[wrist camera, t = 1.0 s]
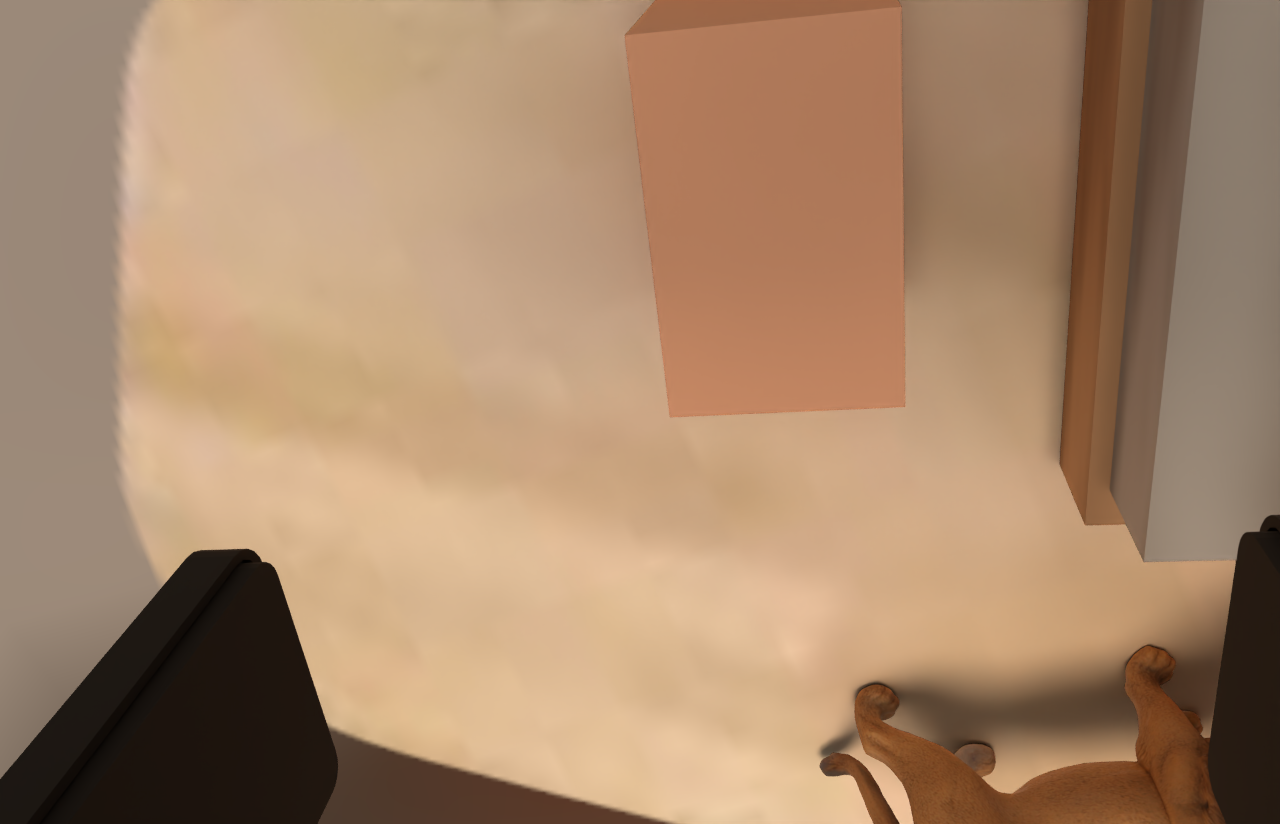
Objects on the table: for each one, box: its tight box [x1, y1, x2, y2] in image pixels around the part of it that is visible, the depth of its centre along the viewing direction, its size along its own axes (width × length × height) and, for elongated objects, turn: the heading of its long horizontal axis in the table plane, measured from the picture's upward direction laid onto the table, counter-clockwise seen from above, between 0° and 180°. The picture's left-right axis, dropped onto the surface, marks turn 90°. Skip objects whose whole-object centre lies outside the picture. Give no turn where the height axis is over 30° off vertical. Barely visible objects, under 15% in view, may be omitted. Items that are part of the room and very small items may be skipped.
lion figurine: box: [820, 646, 1226, 824], centre depth 30 cm, size 15×5×9 cm, turn 114°
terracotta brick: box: [625, 0, 905, 417], centre depth 24 cm, size 5×8×6 cm, turn 7°
